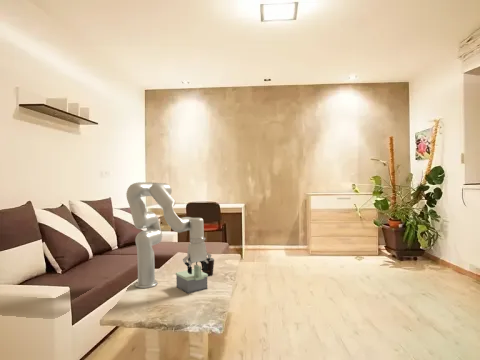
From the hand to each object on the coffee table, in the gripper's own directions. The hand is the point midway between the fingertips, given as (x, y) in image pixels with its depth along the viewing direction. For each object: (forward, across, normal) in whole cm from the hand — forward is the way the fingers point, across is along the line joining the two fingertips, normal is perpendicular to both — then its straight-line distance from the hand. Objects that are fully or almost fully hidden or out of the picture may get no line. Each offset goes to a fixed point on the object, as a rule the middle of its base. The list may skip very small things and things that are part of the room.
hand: (197, 272), depth 179 cm
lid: (+4, 0, -6) cm, 7 cm away
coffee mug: (+11, -20, -25) cm, 34 cm away
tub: (+10, 0, -7) cm, 13 cm away
